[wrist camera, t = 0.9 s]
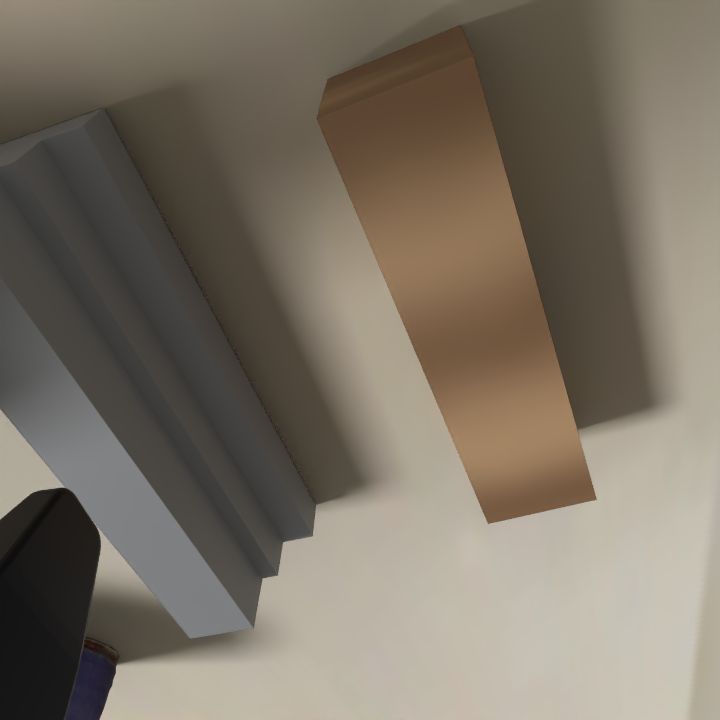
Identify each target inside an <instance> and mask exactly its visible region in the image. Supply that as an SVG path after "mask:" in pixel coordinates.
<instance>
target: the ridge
mask: <svg viewBox="0 0 720 720" xmlns="http://www.w3.org/2000/svg"><path fill="white" fill-rule="evenodd" d="M0 409H1V410H2V411H3V413H4V414H5V415H6V416H7V417H8V419H9V420H10V421H11V422H12V424H13V425H14V426H15V427H16V428H17V430H18V431H19V432H20V433H21V434H22V436H23V437H24V438H25V439H26V441H27V442H28V443H29V444H30V445H31V447H32V448H33V449H34V450H35V451H36V453H37V454H38V455H39V456H40V457H41V459H42V460H43V461H44V462H45V464H46V465H47V466H48V467H49V468H50V470H51V471H52V472H53V473H54V474H55V476H56V477H57V478H58V479H59V480H60V482H61V483H62V484H63V485H64V487H65V488H67V489H69V490H70V491H72V492H73V493H74V494H75V495H76V497H77V498H78V500H79V501H80V503H81V504H82V506H83V507H84V509H85V511H86V512H87V514H88V515H89V517H90V518H91V519H92V520H93V522H94V523H95V524H96V525H97V526H98V528H99V529H100V530H101V531H102V533H103V534H104V535H105V536H106V537H107V539H108V540H109V541H110V542H111V543H112V545H113V546H114V547H115V548H116V550H117V551H118V552H119V553H120V554H121V556H122V557H123V558H124V559H125V560H126V562H127V563H128V564H129V565H130V566H131V568H132V569H133V570H134V571H135V573H136V574H137V575H138V576H139V577H140V579H141V580H142V581H143V582H144V583H145V585H146V586H147V587H148V588H149V589H150V591H151V592H152V593H153V594H154V596H155V597H156V598H157V599H158V600H159V602H160V603H161V604H162V605H163V606H164V608H165V609H166V610H167V611H168V612H169V614H170V615H171V616H172V617H173V619H174V620H175V621H176V622H177V623H178V625H179V626H180V627H181V628H182V629H183V631H184V632H185V633H186V634H187V635H188V637H189V638H190V639H191V638H197V637H204V636H210V635H216V634H222V633H228V632H234V631H240V630H246V629H252V628H254V623H255V617H256V612H257V606H258V600H259V595H260V589H261V583H262V578H266V577H272V576H278V570H279V564H280V558H281V551H282V545H283V542H285V541H291V540H296V539H301V538H306V537H311V536H313V528H314V519H315V510H316V505H315V503H314V501H313V499H312V497H311V495H310V494H309V492H308V490H307V488H306V486H305V484H304V482H303V480H302V479H301V477H300V475H299V473H298V471H297V469H296V467H295V465H294V464H293V462H292V460H291V458H290V456H289V454H288V452H287V450H286V449H285V447H284V445H283V443H282V441H281V439H280V437H279V435H278V434H277V432H276V430H275V428H274V426H273V424H272V422H271V420H270V419H269V417H268V415H267V413H266V411H265V409H264V407H263V405H262V404H261V402H260V400H259V398H258V396H257V394H256V392H255V390H254V389H253V387H252V385H251V383H250V381H249V379H248V377H247V375H246V374H245V372H244V370H243V368H242V366H241V364H240V362H239V360H238V359H237V357H236V355H235V353H234V351H233V349H232V347H231V345H230V344H229V342H228V340H227V338H226V336H225V334H224V332H223V330H222V329H221V327H220V325H219V323H218V321H217V319H216V317H215V315H214V314H213V312H212V310H211V308H210V306H209V304H208V302H207V300H206V299H205V297H204V295H203V293H202V291H201V289H200V287H199V285H198V283H197V282H196V280H195V278H194V276H193V274H192V272H191V270H190V268H189V267H188V265H187V263H186V261H185V259H184V257H183V255H182V253H181V252H180V250H179V248H178V246H177V244H176V242H175V240H174V238H173V237H172V235H171V233H170V231H169V229H168V227H167V225H166V223H165V222H164V220H163V218H162V216H161V214H160V212H159V210H158V208H157V207H156V205H155V203H154V201H153V199H152V197H151V195H150V193H149V192H148V190H147V188H146V186H145V184H144V182H143V180H142V178H141V177H140V175H139V173H138V171H137V169H136V167H135V165H134V163H133V162H132V160H131V158H130V156H129V154H128V152H127V150H126V148H125V147H124V145H123V143H122V141H121V139H120V137H119V135H118V133H117V132H116V130H115V128H114V126H113V124H112V122H111V120H110V118H109V117H108V115H107V113H106V111H105V109H104V108H101V109H98V110H95V111H93V112H90V113H87V114H84V115H82V116H79V117H76V118H73V119H70V120H68V121H65V122H62V123H59V124H56V125H54V126H51V127H48V128H45V129H42V130H40V131H37V132H34V133H31V134H29V135H26V136H23V137H20V138H17V139H15V140H12V141H9V142H6V143H3V144H1V145H0Z"/></svg>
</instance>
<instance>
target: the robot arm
mask: <svg viewBox="0 0 720 720" xmlns="http://www.w3.org/2000/svg"><path fill="white" fill-rule="evenodd" d="M100 549H101V540H100V535H99V532H98V529H97V527H96V526H95V524H94V523H93V521H92V520H91V518H90V517H89V515H88V514H87V512H86V511H85V509H84V507H83V506H82V504H81V503H80V501H79V500H78V498H77V497H76V495H75V494H74V493H73V492H72V491H70V490H69V489H67V488H56V489H48V490H41V491H37V492H34V493H32V494H30V495H29V496H28V497H27V498H25V499H24V500H23V501H22V502H21V503H20V504H18V505H17V506H16V507H15V508H14V509H12V510H11V511H10V512H9V513H8V514H6V515H5V516H4V517H3V518H2V519H1V520H0V720H65V717H66V713H67V710H68V706H69V703H70V699H71V696H72V692H73V689H74V685H75V681H76V677H77V673H78V669H79V665H80V660H81V655H82V651H83V646H84V640H85V635H86V629H87V623H88V618H89V612H90V606H91V601H92V595H93V590H94V584H95V578H96V573H97V567H98V561H99V556H100Z"/></svg>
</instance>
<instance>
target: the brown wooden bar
mask: <svg viewBox="0 0 720 720" xmlns="http://www.w3.org/2000/svg"><path fill="white" fill-rule="evenodd" d="M317 120H318V123H319V125H320V127H321V130H322V132H323V135H324V137H325V139H326V142H327V144H328V146H329V149H330V151H331V153H332V156H333V158H334V161H335V163H336V165H337V168H338V170H339V172H340V175H341V177H342V179H343V182H344V184H345V187H346V189H347V191H348V194H349V196H350V198H351V201H352V203H353V205H354V208H355V210H356V213H357V215H358V217H359V220H360V222H361V224H362V227H363V229H364V231H365V234H366V236H367V239H368V241H369V243H370V246H371V248H372V250H373V253H374V255H375V257H376V260H377V262H378V265H379V267H380V269H381V272H382V274H383V276H384V279H385V281H386V283H387V286H388V288H389V291H390V293H391V295H392V298H393V300H394V302H395V305H396V307H397V309H398V312H399V314H400V317H401V319H402V321H403V324H404V326H405V328H406V331H407V333H408V335H409V338H410V340H411V343H412V345H413V347H414V350H415V352H416V354H417V357H418V359H419V361H420V364H421V366H422V369H423V371H424V373H425V376H426V378H427V380H428V383H429V385H430V387H431V390H432V392H433V395H434V397H435V399H436V402H437V404H438V406H439V409H440V411H441V413H442V416H443V418H444V421H445V423H446V425H447V428H448V430H449V432H450V435H451V437H452V439H453V442H454V444H455V446H456V449H457V451H458V454H459V456H460V458H461V461H462V463H463V465H464V468H465V470H466V472H467V475H468V477H469V480H470V482H471V484H472V487H473V489H474V491H475V494H476V496H477V498H478V501H479V503H480V506H481V508H482V510H483V513H484V515H485V517H486V520H487V522H488V524H490V523H494V522H499V521H503V520H508V519H512V518H517V517H521V516H526V515H530V514H534V513H539V512H543V511H548V510H552V509H557V508H561V507H566V506H570V505H575V504H579V503H584V502H588V501H593V500H597V499H596V496H595V492H594V489H593V485H592V481H591V478H590V474H589V471H588V467H587V463H586V460H585V456H584V452H583V449H582V445H581V442H580V438H579V434H578V431H577V427H576V424H575V420H574V416H573V413H572V409H571V406H570V402H569V398H568V395H567V391H566V388H565V384H564V380H563V377H562V373H561V370H560V366H559V362H558V359H557V355H556V352H555V348H554V344H553V341H552V337H551V334H550V330H549V326H548V323H547V319H546V316H545V312H544V308H543V305H542V301H541V298H540V294H539V290H538V287H537V283H536V280H535V276H534V272H533V269H532V265H531V261H530V258H529V254H528V251H527V247H526V243H525V240H524V236H523V233H522V229H521V225H520V222H519V218H518V215H517V211H516V207H515V204H514V200H513V197H512V193H511V189H510V186H509V182H508V179H507V175H506V171H505V168H504V164H503V161H502V157H501V153H500V150H499V146H498V143H497V139H496V135H495V132H494V128H493V125H492V121H491V117H490V114H489V110H488V107H487V103H486V99H485V96H484V92H483V89H482V85H481V81H480V78H479V74H478V70H477V67H476V63H475V60H474V56H473V54H472V51H471V49H470V47H469V44H468V42H467V40H466V37H465V35H464V33H463V30H462V28H461V26H460V25H459V26H457V27H454V28H452V29H450V30H447V31H445V32H442V33H440V34H437V35H435V36H433V37H430V38H428V39H425V40H423V41H420V42H418V43H415V44H413V45H411V46H408V47H406V48H403V49H401V50H398V51H396V52H394V53H391V54H389V55H386V56H384V57H381V58H379V59H377V60H374V61H372V62H369V63H367V64H364V65H362V66H360V67H357V68H355V69H352V70H350V71H347V72H345V73H343V74H340V75H338V76H335V77H333V78H330V79H328V80H327V83H326V87H325V90H324V94H323V98H322V101H321V105H320V108H319V112H318V115H317Z"/></svg>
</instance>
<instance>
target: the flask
mask: <svg viewBox="0 0 720 720" xmlns="http://www.w3.org/2000/svg"><path fill="white" fill-rule="evenodd" d="M118 658H119V656H118V654H117V651H116V650H113V649H111V648H110V647H109V646H107V645H105V644H102V643H100V642H97V641H94V640H92V639H88V638H85V640H84V646H83V651H82V655H81V660H80V665H79V669H78V673H77V677H76V681H75V685H74V689H73V692H72V696H71V699H70V703H69V706H68V710H67V713H66V717H65V720H99V719H100V716H101V714H102V712H103V709H104V706H105V703H106V700H107V697H108V693H109V690H110V688H111V687H112V683H113V679H114V676H115V673H116V662H117V660H118Z"/></svg>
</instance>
